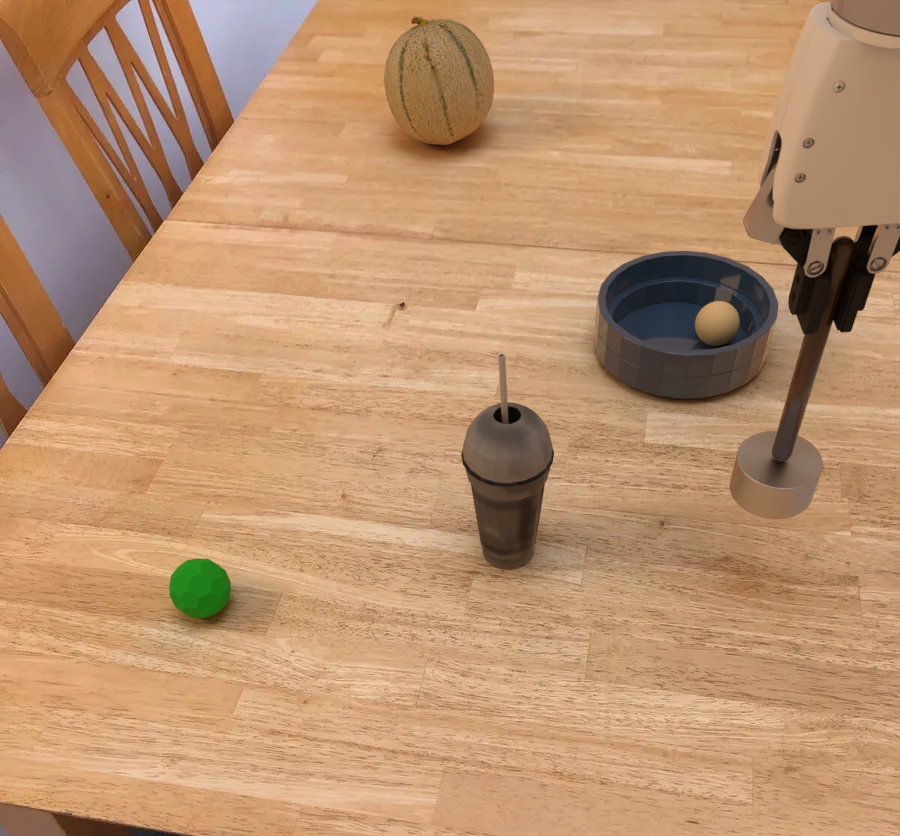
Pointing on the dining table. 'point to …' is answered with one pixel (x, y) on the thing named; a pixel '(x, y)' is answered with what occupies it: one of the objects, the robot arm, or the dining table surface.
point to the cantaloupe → (439, 81)
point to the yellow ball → (717, 323)
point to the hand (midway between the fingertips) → (821, 318)
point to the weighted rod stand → (791, 424)
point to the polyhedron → (199, 588)
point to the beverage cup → (507, 477)
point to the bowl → (682, 324)
